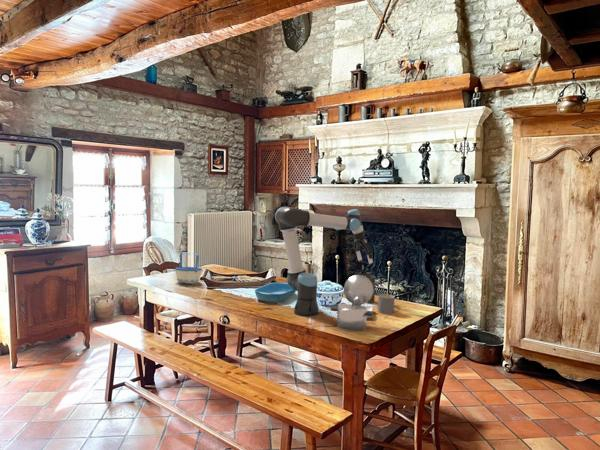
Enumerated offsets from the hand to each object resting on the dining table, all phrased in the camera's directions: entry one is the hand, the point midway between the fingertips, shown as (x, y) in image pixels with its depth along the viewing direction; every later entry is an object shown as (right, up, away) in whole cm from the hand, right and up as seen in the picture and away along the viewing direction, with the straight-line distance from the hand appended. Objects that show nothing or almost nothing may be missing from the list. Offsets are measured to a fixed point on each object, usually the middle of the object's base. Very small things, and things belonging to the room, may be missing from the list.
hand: (365, 261), depth 285 cm
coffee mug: (+10, -30, -20) cm, 37 cm away
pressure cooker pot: (-16, -31, -54) cm, 64 cm away
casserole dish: (-61, -26, +7) cm, 66 cm away
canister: (+2, -28, +4) cm, 28 cm away
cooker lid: (-11, -12, -45) cm, 48 cm away
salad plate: (-11, -30, -29) cm, 43 cm away
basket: (-132, -21, +46) cm, 142 cm away
